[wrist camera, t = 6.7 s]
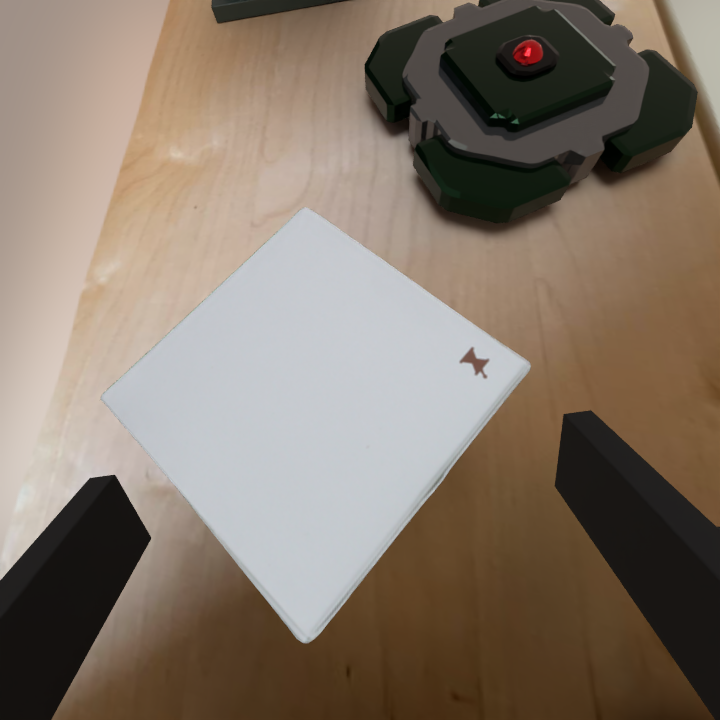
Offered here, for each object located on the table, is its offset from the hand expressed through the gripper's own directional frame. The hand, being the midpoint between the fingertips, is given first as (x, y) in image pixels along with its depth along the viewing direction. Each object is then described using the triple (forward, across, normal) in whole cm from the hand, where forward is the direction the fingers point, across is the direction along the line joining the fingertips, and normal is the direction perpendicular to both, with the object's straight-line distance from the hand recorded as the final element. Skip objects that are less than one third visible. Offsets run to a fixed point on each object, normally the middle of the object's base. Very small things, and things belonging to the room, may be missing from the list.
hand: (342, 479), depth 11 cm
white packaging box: (+8, 0, +5) cm, 9 cm away
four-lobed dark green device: (+24, -14, -11) cm, 29 cm away
